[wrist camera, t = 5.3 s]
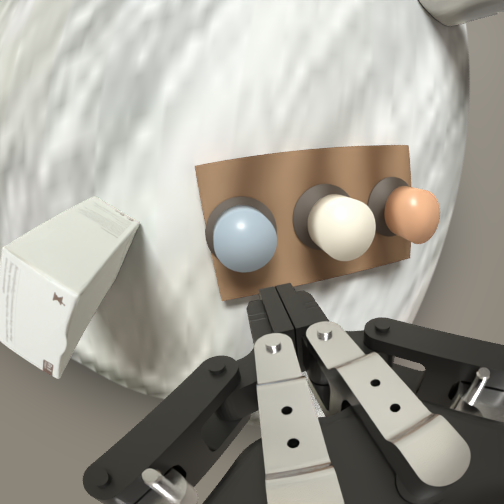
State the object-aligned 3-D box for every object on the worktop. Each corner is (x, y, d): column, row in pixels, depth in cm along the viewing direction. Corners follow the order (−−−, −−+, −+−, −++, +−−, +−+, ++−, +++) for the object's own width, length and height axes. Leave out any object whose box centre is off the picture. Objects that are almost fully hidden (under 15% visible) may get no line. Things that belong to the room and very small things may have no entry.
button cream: (356, 191, 23) (374, 196, 20) (359, 244, 24) (375, 254, 22) (304, 198, 22) (317, 203, 19) (310, 254, 24) (322, 266, 21)
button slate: (265, 200, 24) (272, 206, 21) (272, 253, 25) (280, 265, 23) (208, 210, 23) (208, 217, 20) (219, 264, 25) (220, 277, 22)
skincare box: (95, 194, 23) (-1, 234, 10) (145, 223, 25) (80, 292, 11) (69, 263, 25) (-8, 339, 11) (114, 290, 27) (58, 386, 13)
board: (399, 145, 26) (411, 145, 24) (401, 252, 30) (412, 258, 28) (193, 166, 24) (192, 166, 22) (219, 292, 29) (219, 302, 26)
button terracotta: (420, 184, 23) (440, 188, 21) (420, 231, 25) (438, 239, 22) (383, 188, 23) (402, 192, 20) (384, 238, 25) (402, 248, 22)
